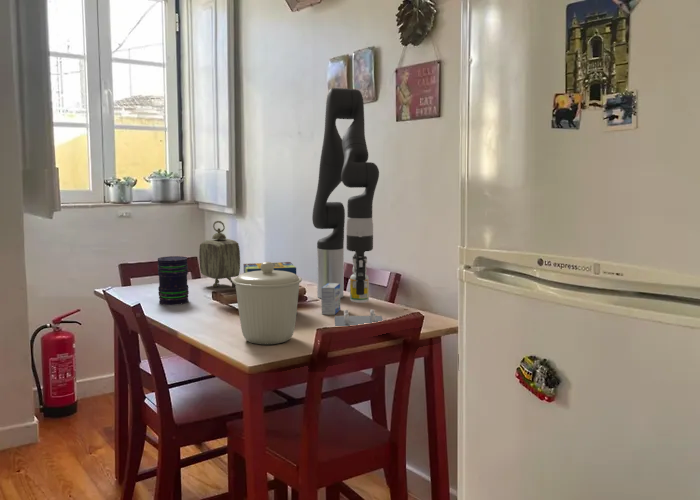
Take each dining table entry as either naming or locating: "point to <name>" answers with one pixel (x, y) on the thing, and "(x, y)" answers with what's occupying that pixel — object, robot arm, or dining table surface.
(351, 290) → the supplement bottle
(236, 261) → the tabletop clock
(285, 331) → the canister
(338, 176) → the robot arm
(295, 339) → the dining table surface
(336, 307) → the medicine box
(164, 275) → the storage jar
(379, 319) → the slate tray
